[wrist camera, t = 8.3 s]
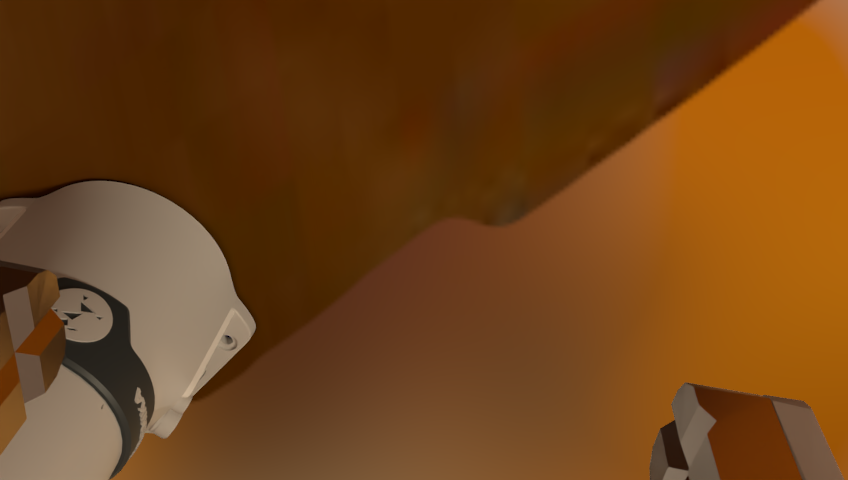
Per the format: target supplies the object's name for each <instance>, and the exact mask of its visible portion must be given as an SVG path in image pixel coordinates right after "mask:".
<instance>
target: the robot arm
mask: <svg viewBox="0 0 848 480" xmlns="http://www.w3.org/2000/svg"><path fill="white" fill-rule="evenodd" d="M255 329H256V325H255V322H254V319H253V318H252V316H251V314H250V313H249V311H248V310H247V309H246V307H245V306H244V305H243V303H242V302H241V301H240V300H239V298H238V297H237V295H236V293H235V290H234V287H233V283H232V279H231V275H230V271H229V268H228V265H227V262H226V260H225V258H224V256H223V254H222V252H221V250H220V248H219V247H218V245H217V244H216V242H215V241H214V239H213V238H212V237H211V235H210V234H209V233H208V232H207V231H206V229H205V228H204V227H203V226H202V225H201V224H200V223H199V222H198V221H197V220H196V219H194V218H193V217H192V216H191V215H190V214H189V213H187V212H186V211H185V210H183V209H182V208H180V207H179V206H178V205H176V204H174V203H173V202H171V201H169V200H168V199H166V198H164V197H162V196H160V195H158V194H156V193H153V192H151V191H149V190H146V189H143V188H140V187H137V186H133V185H130V184H125V183H119V182H112V181H87V182H81V183H76V184H72V185H69V186H66V187H63V188H61V189H59V190H57V191H55V192H53V193H50V194H48V195H46V196H43V197H39V198H11V199H5V200H2V201H0V480H109V479H111V478H113V477H114V476H115V475H116V474H117V473H119V472H120V471H121V469H122V468H123V466H124V465H125V464H126V462H127V461H128V460H129V458H131V456H132V455H133V454H134V452H135V451H136V449H137V448H138V446H139V444H140V443H141V441H142V439H143V436H144V433H154V434H156V435H157V436H159V437H161V438H167V437H168V436H169V435H170V434H171V433H172V431H173V430H174V428H175V427H176V425H177V424H178V422H179V420H180V419H181V417H182V414H183V412H184V411H185V409H186V408H187V407H188V405H189V403H190V402H191V400H192V396H193V395H194V394H195V393H196V392H197V391H198V390H199V389H200V388H201V387H203V386H204V385H205V384H206V383H207V382H208V381H209V380H210V379H211V378H212V377H213V376H214V375H215V374H216V373H217V372H218V371H219V370H220V369H221V368H222V367H223V366H224V365H225V364H226V363H227V362H228V361H229V360H230V359H231V358H232V357H233V356H234V355H235V354H236V353H237V352H238V351H239V350H240V349H241V348H242V347H243V346H244V345H245V344H246V343H247V342H248V341H249V340H250V338H251V337H252V335H253V333H254V332H255ZM225 335H228V336H230V337H231V338H229V337H227V336H225ZM672 409H673V413H674V417H675V420H674V421H672V422H671V423H669V424H667V425H665V426H664V427H662V428H661V429H660V431H659V433H658V436H657V438H656V441H655V444H654V446H653V451H652V456H651V462H650V480H844V478H843V476H842V474H841V472H840V470H839V468H838V465H837V463H836V461H835V459H834V457H833V455H832V452H831V450H830V448H829V446H828V444H827V442H826V439H825V437H824V435H823V433H822V431H821V429H820V426H819V424H818V422H817V420H816V417H815V415H814V413H813V411H812V409H811V407H810V406H808V405H807V404H806V403H805V402H804V401H799V400H793V399H787V398H780V397H774V396H767V395H763V396H760V395H756V394H750V393H744V392H738V391H732V390H727V389H721V388H715V387H709V386H703V385H697V384H691V383H684V384H683V385H682V386H681V388H680V389H679V390H678V391H677V394H676V396H675V398H674V400H673V402H672Z"/></svg>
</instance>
